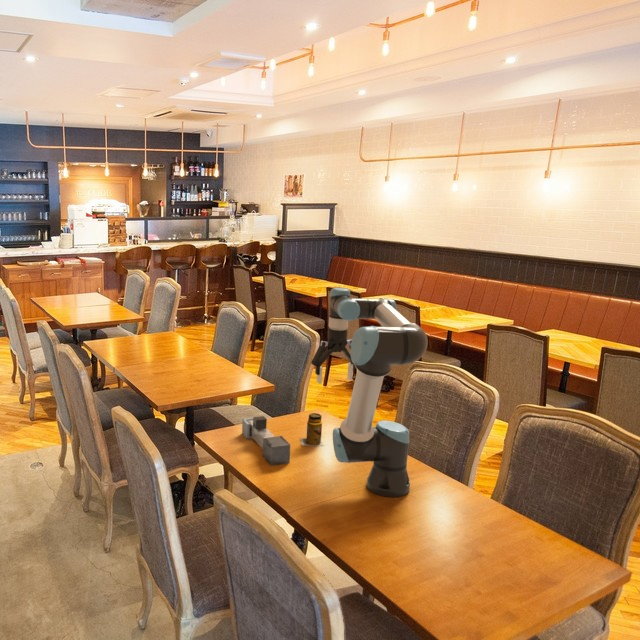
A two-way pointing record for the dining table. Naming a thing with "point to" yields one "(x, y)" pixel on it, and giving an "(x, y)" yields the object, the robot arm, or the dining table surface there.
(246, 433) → the socket
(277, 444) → the sleeve
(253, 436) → the light gray bar
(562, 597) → the dining table surface
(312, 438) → the yellow drink bottle
